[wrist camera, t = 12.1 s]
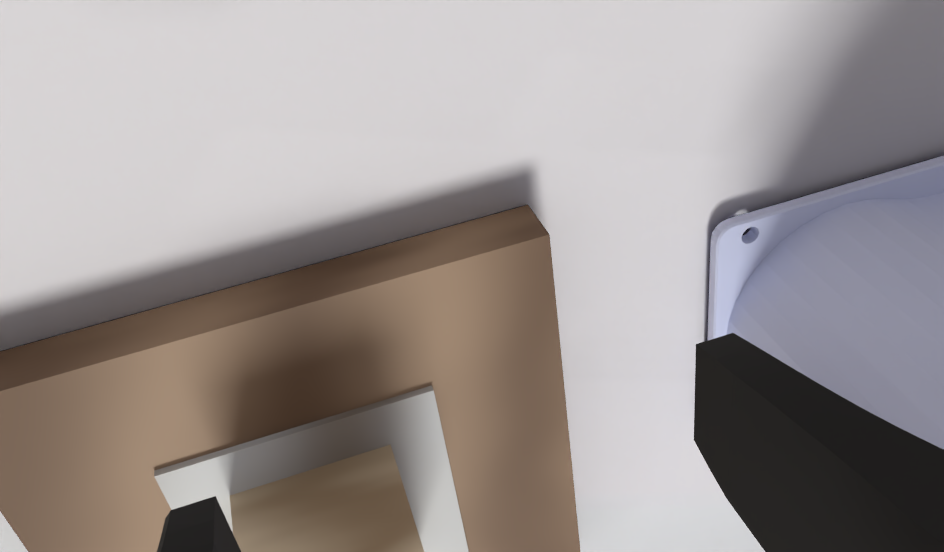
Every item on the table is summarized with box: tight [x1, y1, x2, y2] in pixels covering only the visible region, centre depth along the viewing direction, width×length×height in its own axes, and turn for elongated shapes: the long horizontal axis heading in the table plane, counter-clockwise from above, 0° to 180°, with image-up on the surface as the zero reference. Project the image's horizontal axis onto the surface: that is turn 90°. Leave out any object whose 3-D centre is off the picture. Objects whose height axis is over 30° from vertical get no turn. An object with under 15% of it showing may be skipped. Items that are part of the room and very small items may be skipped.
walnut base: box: [0, 205, 580, 552], centre depth 24 cm, size 14×14×2 cm
